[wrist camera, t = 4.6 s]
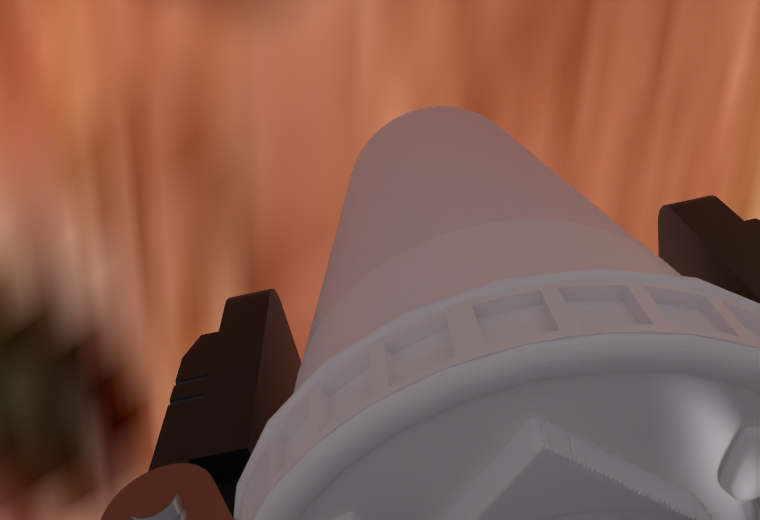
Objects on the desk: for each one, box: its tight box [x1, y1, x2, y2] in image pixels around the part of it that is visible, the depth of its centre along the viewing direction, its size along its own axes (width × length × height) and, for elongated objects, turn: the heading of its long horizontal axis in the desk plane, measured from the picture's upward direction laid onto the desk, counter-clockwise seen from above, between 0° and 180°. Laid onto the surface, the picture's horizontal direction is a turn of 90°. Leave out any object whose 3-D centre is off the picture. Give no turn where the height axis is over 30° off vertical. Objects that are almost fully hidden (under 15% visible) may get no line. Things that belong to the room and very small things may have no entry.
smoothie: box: [233, 106, 760, 520], centre depth 9 cm, size 6×6×14 cm
